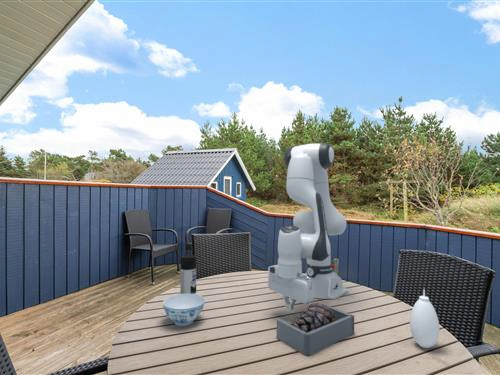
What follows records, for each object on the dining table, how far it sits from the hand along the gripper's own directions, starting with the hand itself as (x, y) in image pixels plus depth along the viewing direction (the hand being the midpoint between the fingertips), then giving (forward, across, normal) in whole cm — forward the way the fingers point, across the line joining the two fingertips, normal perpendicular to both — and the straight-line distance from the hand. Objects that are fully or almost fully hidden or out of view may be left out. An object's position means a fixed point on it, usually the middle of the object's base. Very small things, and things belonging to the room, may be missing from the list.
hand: (289, 308), depth 107 cm
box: (+5, -12, +1) cm, 13 cm away
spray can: (+5, +39, +22) cm, 45 cm away
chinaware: (+5, +23, +31) cm, 39 cm away
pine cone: (+5, -13, +2) cm, 14 cm away
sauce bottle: (+5, -38, -21) cm, 43 cm away
